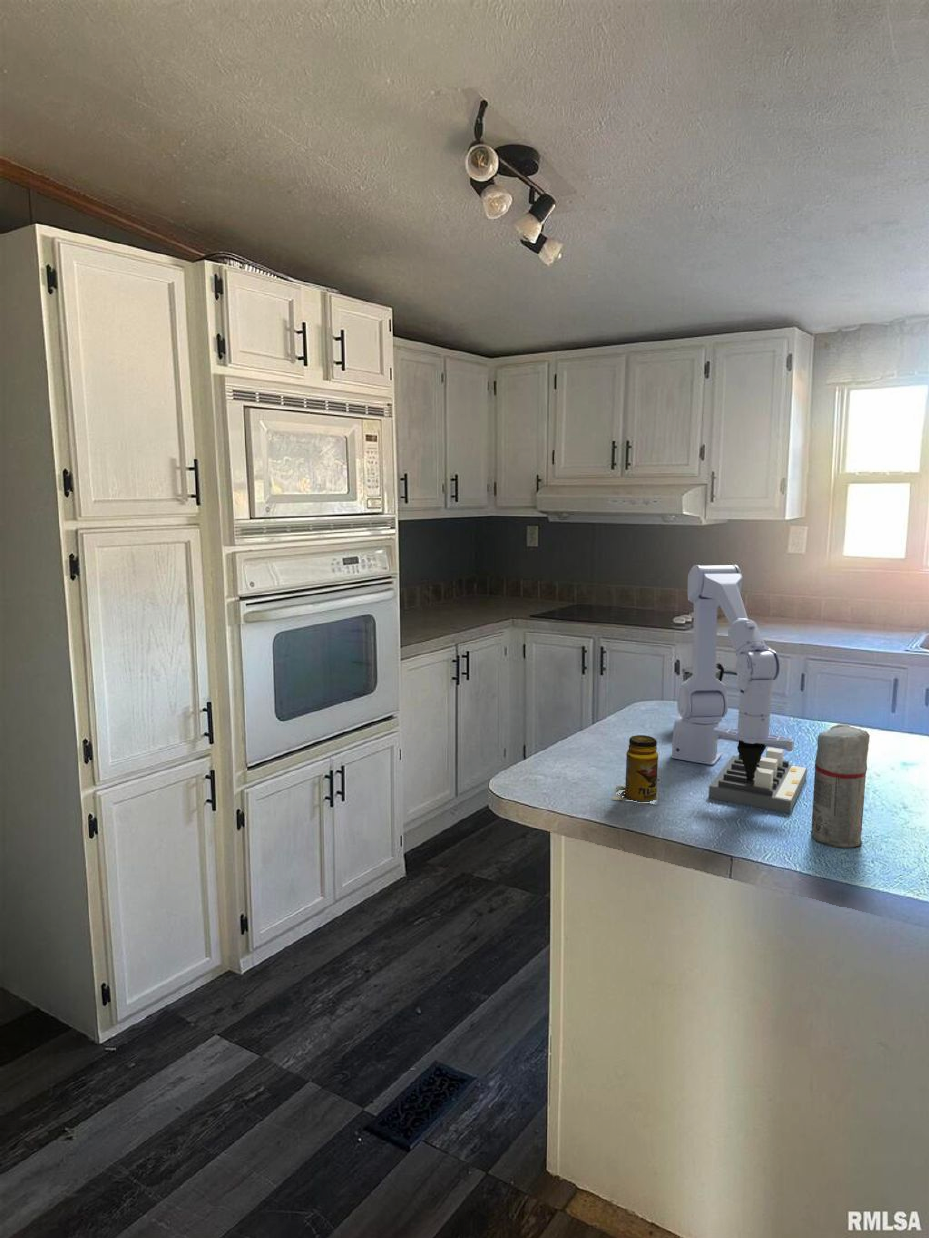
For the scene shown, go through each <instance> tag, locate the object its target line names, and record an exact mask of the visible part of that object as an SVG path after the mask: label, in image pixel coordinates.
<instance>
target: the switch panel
mask: <svg viewBox="0 0 929 1238" xmlns="http://www.w3.org/2000/svg"><path fill="white" fill-rule="evenodd" d="M762 757H763V756H761V757H760V759H761V758H762ZM760 759H759V761H758V764H757V766H756V769H757V768H759V765H760ZM789 763H790V761H789V760H784V759H783V766H782V767H779V766H777V777H776V778H775V777H773V787H772V789H767V788H761V787H756V786H754V778H755V772H754V777H753V780H752V781H751V782H750V781H747V777H746V771H745V767H744V764H743V761H742V758H741V756H740V754H739V753H738V755H735V754H734V755H732V756H731V757H730V759H729V760H728V762H727V763H726V764H725V765H724V766H723V768H721V770H720V771H719V772H718V774H717V775H716V777H715V778H714V779H713V781H711V783H710V785H709V787H708V798H709V799H713V800H719V801H725V802H729V803H735V804H739V805H745V806H749V807H755V808H761V809H764V810H771V811H773V812H774V811H775V812H779V813H780V812H781V813H785V814H791V813H792V810H793V808H794V806H795V804H796V801H797V799H798V797H799V795H800V793H801V791H802V788H803V787H804V784H805V783H806V780H807V775H808V773H807V772H808V767H806V766H805V767H804V766H800V765H793V764H789ZM756 769H755V770H756Z"/></svg>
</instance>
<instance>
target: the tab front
mask: <svg viewBox="0 0 929 1238" xmlns="http://www.w3.org/2000/svg"><path fill="white" fill-rule="evenodd" d="M773 772H774V770H769V769H763V768H757V769H756V770H755V778H754V786H756V787H761V788H767V789H772V787H773Z"/></svg>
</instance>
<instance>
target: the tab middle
mask: <svg viewBox="0 0 929 1238" xmlns="http://www.w3.org/2000/svg"><path fill="white" fill-rule="evenodd" d="M761 757H762V758H761V759H760V765H759V768H763V769H769V770H774V772H773V777H775V778H776V777H777V763H778V759H772V758H766V756H761Z"/></svg>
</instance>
